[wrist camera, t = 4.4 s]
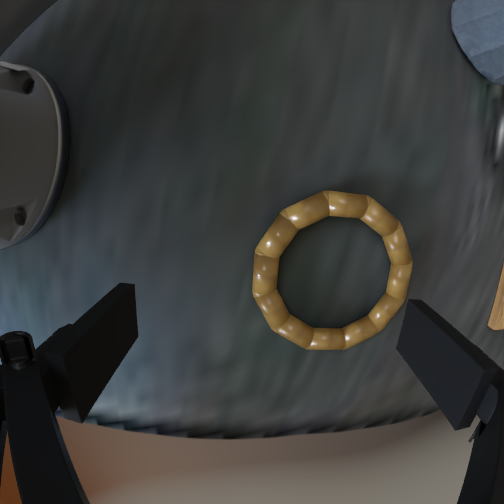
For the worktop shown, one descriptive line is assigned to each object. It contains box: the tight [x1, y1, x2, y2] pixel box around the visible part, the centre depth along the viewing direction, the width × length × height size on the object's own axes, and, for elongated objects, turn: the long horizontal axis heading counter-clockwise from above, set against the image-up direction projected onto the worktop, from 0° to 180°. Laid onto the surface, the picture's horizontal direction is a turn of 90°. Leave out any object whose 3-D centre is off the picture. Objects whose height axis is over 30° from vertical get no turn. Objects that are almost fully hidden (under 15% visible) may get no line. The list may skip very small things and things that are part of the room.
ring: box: [252, 190, 413, 350], centre depth 21 cm, size 11×11×2 cm
